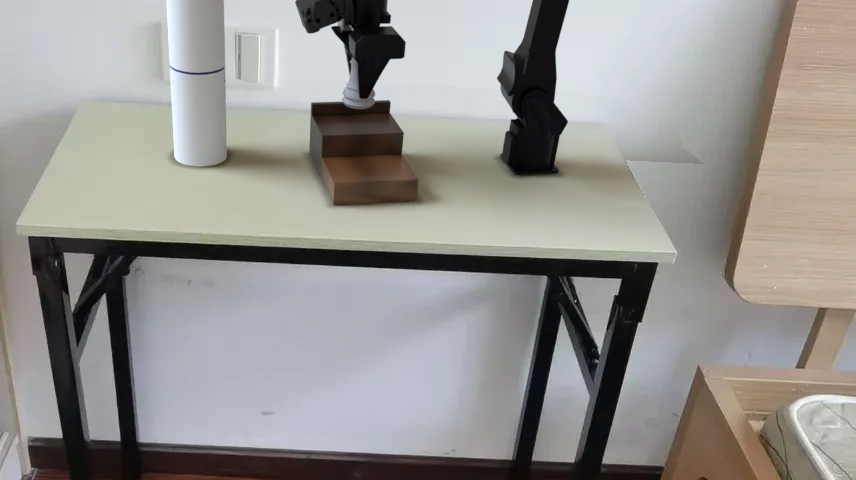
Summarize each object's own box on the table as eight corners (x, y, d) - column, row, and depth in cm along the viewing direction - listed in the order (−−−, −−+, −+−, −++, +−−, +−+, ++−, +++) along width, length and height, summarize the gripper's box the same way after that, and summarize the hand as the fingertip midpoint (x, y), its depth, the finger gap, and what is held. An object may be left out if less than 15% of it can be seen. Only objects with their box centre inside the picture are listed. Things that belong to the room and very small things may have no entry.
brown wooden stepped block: (385, 151, 137) (389, 99, 133) (416, 200, 124) (422, 145, 120) (309, 154, 135) (310, 102, 130) (333, 205, 122) (336, 149, 118)
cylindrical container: (164, 160, 131) (153, -34, 116) (190, 141, 136) (182, -46, 122) (211, 170, 129) (205, -26, 114) (235, 151, 134) (233, -38, 120)
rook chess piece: (342, 97, 130) (344, 36, 125) (375, 98, 130) (379, 38, 125) (341, 109, 126) (343, 47, 121) (375, 110, 126) (379, 49, 121)
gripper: (288, -51, 124) (286, 70, 133) (316, -12, 109) (312, 121, 118) (372, -51, 126) (365, 68, 135) (411, -13, 111) (400, 117, 120)
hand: (359, 92), depth 127 cm, fingers closed on rook chess piece, 4 cm apart
